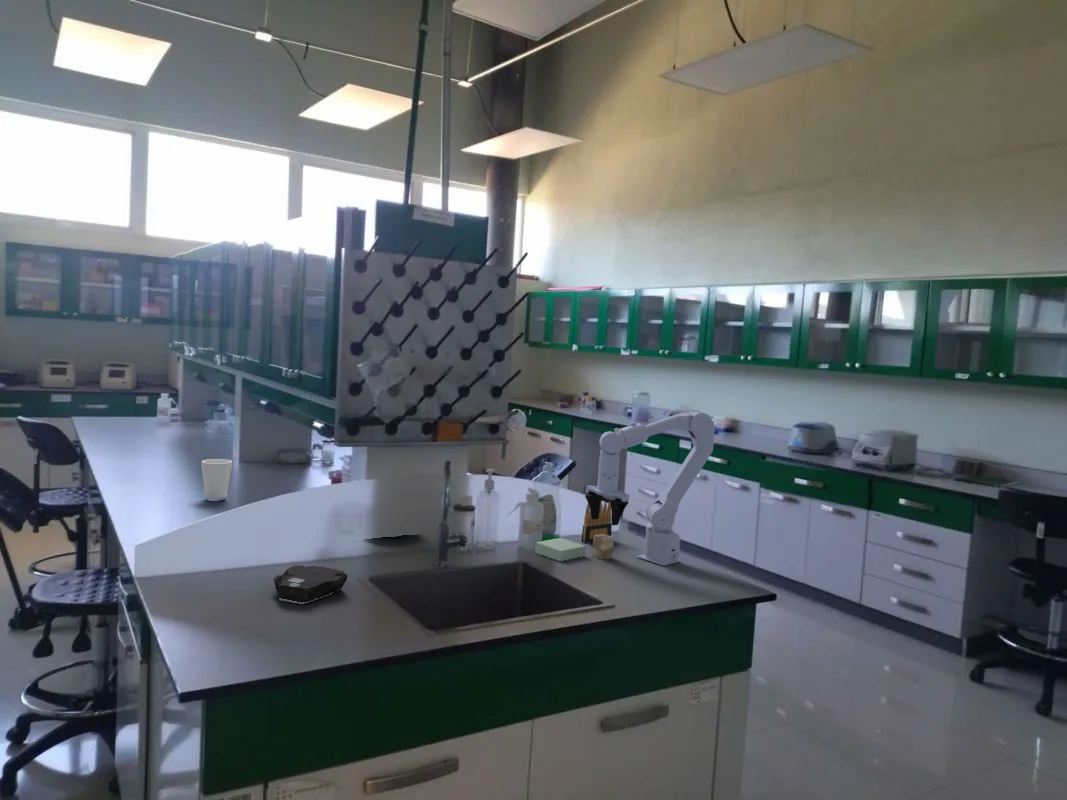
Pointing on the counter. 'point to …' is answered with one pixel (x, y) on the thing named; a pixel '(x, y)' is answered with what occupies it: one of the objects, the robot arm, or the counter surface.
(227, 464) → the foam cup
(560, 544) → the sage base block
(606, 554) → the beech block
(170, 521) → the counter surface
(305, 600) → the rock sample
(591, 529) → the ammunition clip
